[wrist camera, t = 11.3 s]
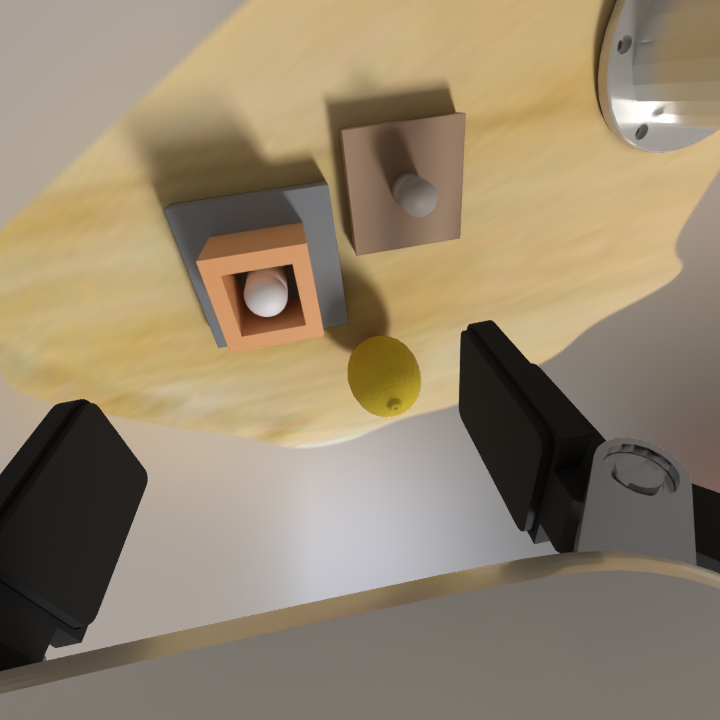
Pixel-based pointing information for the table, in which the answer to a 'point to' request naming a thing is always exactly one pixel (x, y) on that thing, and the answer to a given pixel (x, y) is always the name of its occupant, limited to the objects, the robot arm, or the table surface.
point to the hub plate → (258, 212)
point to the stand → (404, 181)
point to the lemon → (384, 376)
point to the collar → (257, 253)
